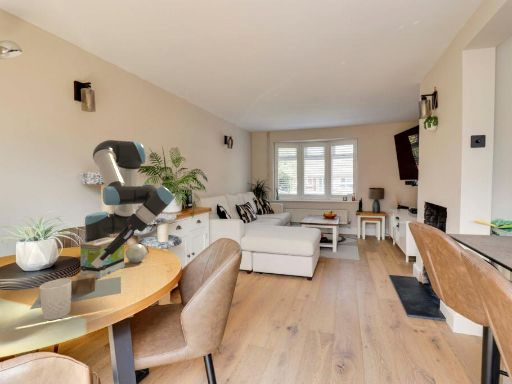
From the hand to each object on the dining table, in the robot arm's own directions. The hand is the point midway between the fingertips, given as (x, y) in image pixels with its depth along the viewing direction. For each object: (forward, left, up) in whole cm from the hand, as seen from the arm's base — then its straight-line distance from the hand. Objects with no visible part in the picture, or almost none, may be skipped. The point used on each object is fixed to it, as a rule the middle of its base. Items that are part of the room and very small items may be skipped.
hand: (94, 265), depth 100 cm
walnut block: (0, 0, -6) cm, 6 cm away
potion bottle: (-30, -20, -10) cm, 38 cm away
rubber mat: (+4, -2, -9) cm, 10 cm away
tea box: (-11, -16, -10) cm, 22 cm away
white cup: (+16, +10, -10) cm, 21 cm away
